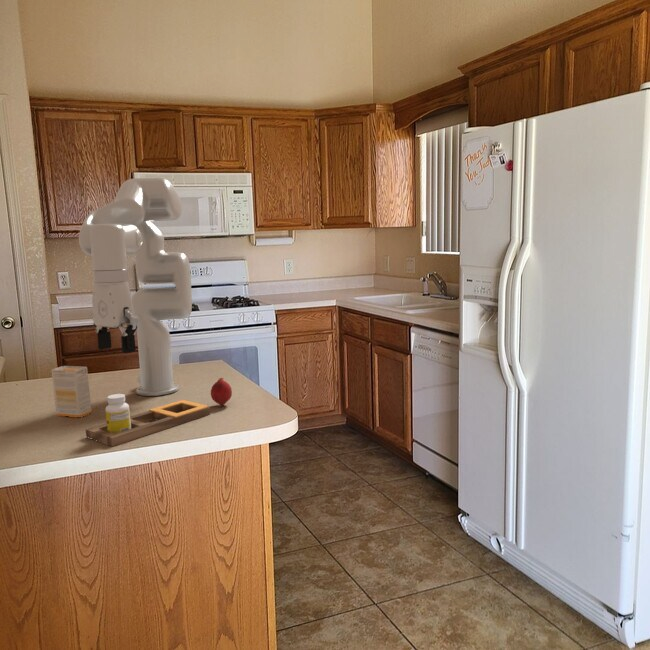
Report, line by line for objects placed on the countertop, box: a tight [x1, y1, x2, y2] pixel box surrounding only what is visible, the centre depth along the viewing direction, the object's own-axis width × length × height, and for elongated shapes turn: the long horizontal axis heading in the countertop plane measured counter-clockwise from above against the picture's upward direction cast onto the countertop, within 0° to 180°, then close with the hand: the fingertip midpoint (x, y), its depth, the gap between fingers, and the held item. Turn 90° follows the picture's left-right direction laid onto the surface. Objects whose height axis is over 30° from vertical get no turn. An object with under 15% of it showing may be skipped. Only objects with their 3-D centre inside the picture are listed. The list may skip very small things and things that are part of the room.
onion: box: [210, 376, 233, 406], centre depth 166 cm, size 6×6×8 cm
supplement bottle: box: [105, 393, 131, 434], centre depth 144 cm, size 5×5×10 cm
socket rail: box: [85, 399, 211, 447], centre depth 151 cm, size 11×29×2 cm, turn 142°
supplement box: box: [51, 365, 92, 418], centre depth 162 cm, size 8×5×13 cm, turn 71°
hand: (116, 350), depth 141 cm, fingers open, 9 cm apart
